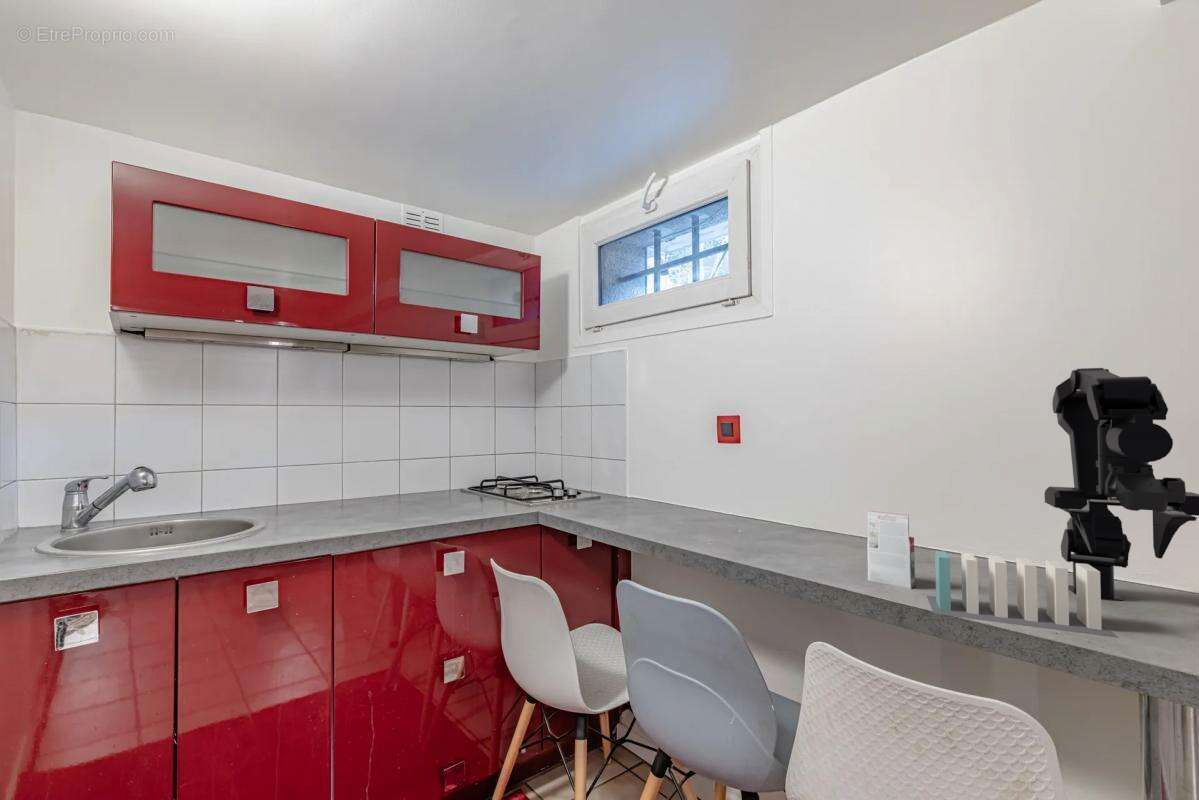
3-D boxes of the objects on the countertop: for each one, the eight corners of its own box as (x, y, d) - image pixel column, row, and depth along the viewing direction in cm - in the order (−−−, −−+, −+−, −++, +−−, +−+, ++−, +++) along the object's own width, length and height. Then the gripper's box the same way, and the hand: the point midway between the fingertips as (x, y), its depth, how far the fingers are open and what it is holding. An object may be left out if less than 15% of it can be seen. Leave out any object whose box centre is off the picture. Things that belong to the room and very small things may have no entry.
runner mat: (926, 597, 102) (926, 595, 102) (1092, 617, 91) (1092, 614, 91) (933, 615, 92) (933, 613, 92) (1119, 640, 82) (1119, 637, 82)
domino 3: (996, 616, 91) (994, 562, 91) (989, 607, 95) (988, 555, 96) (1007, 618, 90) (1006, 563, 90) (1000, 608, 95) (999, 556, 95)
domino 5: (1056, 624, 88) (1055, 567, 88) (1046, 614, 92) (1045, 560, 92) (1069, 625, 87) (1067, 568, 87) (1058, 615, 91) (1057, 561, 91)
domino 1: (939, 609, 94) (938, 557, 95) (936, 600, 99) (935, 550, 99) (950, 610, 94) (949, 558, 94) (946, 602, 98) (945, 551, 98)
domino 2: (967, 613, 93) (966, 559, 93) (962, 603, 97) (961, 553, 97) (978, 614, 92) (977, 560, 92) (973, 605, 96) (972, 553, 97)
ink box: (872, 578, 113) (871, 508, 114) (916, 586, 108) (914, 512, 108) (867, 582, 111) (865, 510, 111) (911, 591, 105) (909, 515, 106)
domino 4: (1025, 620, 89) (1024, 564, 89) (1017, 610, 94) (1016, 557, 94) (1037, 621, 89) (1036, 566, 89) (1029, 611, 93) (1027, 558, 93)
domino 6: (1088, 628, 86) (1086, 570, 86) (1077, 617, 90) (1075, 562, 90) (1101, 629, 85) (1100, 571, 85) (1089, 619, 90) (1088, 564, 90)
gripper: (1066, 459, 83) (1068, 562, 83) (1238, 463, 75) (1240, 577, 75) (1042, 453, 93) (1044, 545, 93) (1191, 456, 85) (1194, 556, 85)
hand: (1124, 555), depth 86 cm, fingers open, 8 cm apart
